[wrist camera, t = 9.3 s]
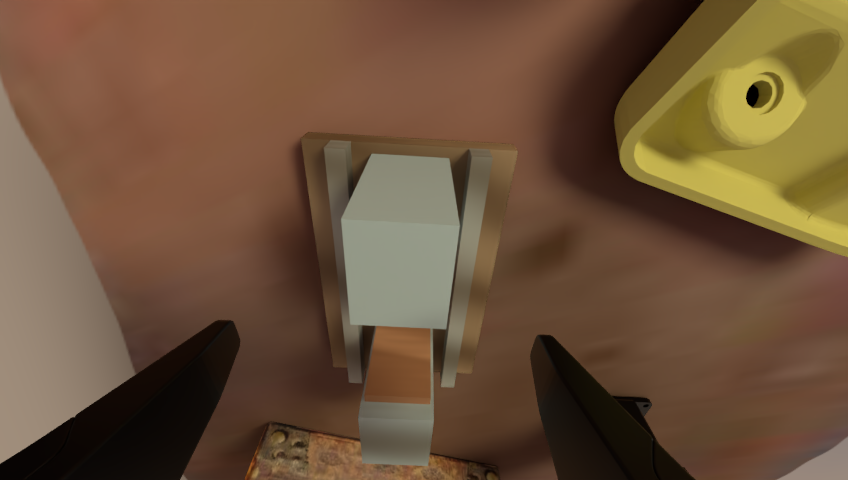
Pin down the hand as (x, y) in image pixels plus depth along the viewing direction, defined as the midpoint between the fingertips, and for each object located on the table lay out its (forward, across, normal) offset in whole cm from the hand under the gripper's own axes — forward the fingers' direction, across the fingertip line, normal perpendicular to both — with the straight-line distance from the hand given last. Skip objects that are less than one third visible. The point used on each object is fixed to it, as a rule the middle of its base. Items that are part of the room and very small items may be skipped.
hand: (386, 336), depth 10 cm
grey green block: (+10, 0, 0) cm, 10 cm away
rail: (+11, 0, +6) cm, 13 cm away
